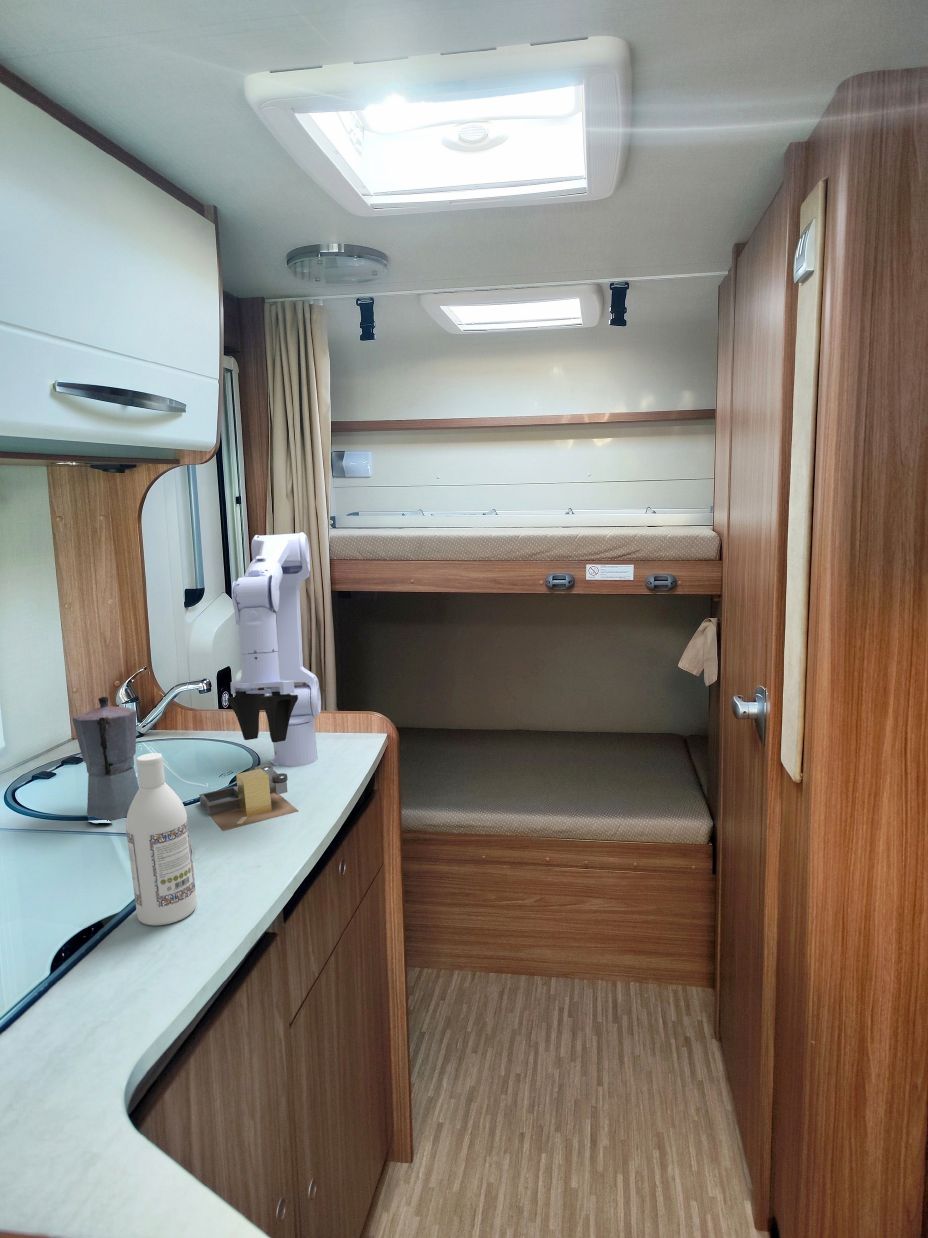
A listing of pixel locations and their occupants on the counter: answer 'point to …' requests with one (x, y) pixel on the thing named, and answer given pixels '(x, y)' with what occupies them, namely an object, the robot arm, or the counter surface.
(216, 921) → the counter surface
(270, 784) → the crank
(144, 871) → the bath foam
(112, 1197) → the counter surface
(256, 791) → the block
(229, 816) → the base
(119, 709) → the moka pot
